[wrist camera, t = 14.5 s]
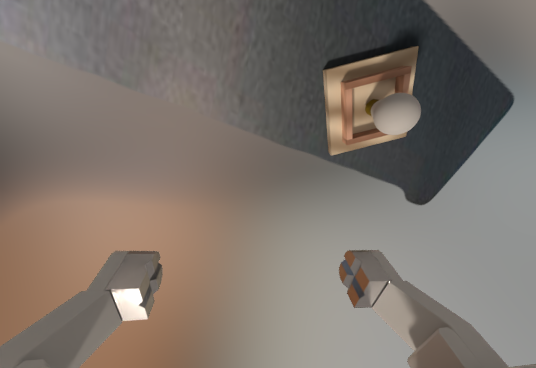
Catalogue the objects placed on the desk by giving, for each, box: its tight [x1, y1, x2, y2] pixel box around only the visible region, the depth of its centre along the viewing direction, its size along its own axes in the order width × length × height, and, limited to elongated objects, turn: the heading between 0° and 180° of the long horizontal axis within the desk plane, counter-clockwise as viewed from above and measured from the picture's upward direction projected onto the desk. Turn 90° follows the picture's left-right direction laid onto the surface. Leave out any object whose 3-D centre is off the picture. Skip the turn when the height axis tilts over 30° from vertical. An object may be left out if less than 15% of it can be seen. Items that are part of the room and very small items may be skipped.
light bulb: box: [365, 93, 421, 135], centre depth 32 cm, size 6×6×10 cm
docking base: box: [323, 46, 419, 155], centre depth 36 cm, size 15×15×4 cm
